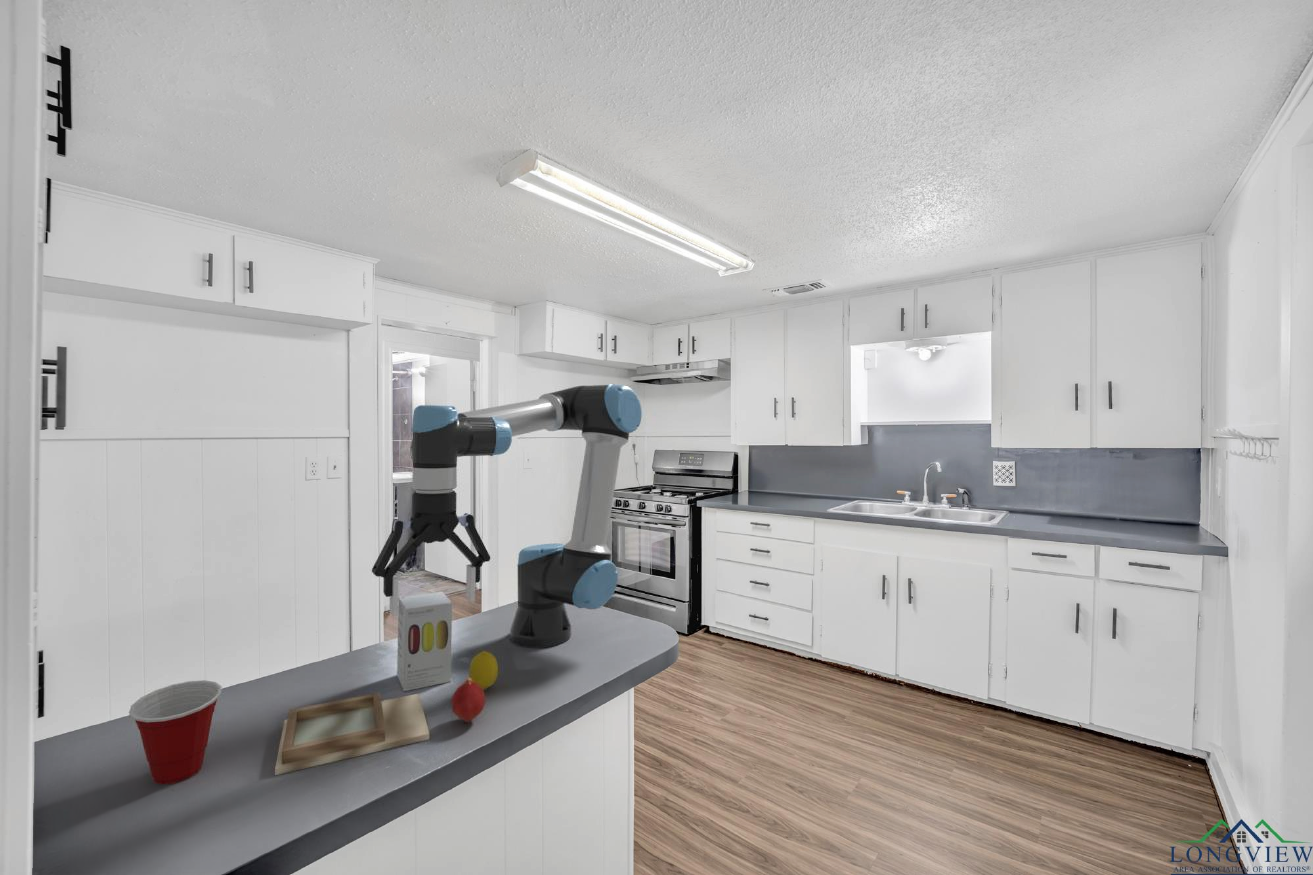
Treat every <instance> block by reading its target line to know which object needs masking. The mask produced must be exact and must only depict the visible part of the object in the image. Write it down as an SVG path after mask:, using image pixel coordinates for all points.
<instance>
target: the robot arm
mask: <svg viewBox="0 0 1313 875" xmlns="http://www.w3.org/2000/svg"><path fill="white" fill-rule="evenodd" d="M642 413H643V411H642V405H641V401H640V398H639V397H638V395H637V394H636V392H635V391H634V390H633V388H631V387H630V386H627V385H624V384H623V385H622V384H614V383H611V384H602V385H601V384H599V385H597V384H596V385H595V384H594V385H578V386H573V387H568V388H564V389H561V390H558V391H554V392H548V393H544V394H542V395H540V396H539V397H538V398H537V399H533V400H526V401H522V402H521V401H520V402H515V403H510V404H509V403H508V404H503V405H497V406H493V407H492V406H491V407H487V408H481V409H476V410H475V409H474V410H470V411H464V412H459V413H458V409H457V407H456V406H454V405H453V406H452V405H438V404H437V405H436V404H435V405H430V404H428V405H427V404H426V405H422V404H421V405H418V406H416V407H415V408H414V410H413V415H412V424H411V425H412V427H411V432H412V433H411V434H412V438H411V440H412V444H411V445H412V480H411V481H412V482H411V483H412V484H411V486H412V489H413V490H414V492H413V493H412V494H411V518H410V520H401V519H397V518H395V519H393V520H392V522H391V523H392V525H391V531H390V534H389V536H387V537H388V538H387V539H386V541H385V543H384V545H383V547H382V549H381V551H380V553H379V555H378V556H377V559H376V560H375V562H374V564H373V566H372V568H371V573H372V574H373V575H374V576H375V577H376V578H379V577H380V578H382V579H383V587H382V588H383V592H382V593H383V594H384V596H385V597H387V598H388V597H389V613H390V614H391V615H392V616H393V617H396V616H397V617H398V602H399V578H398V576H396V574H397V572H399V570H400V569H401V567H402V566H404V564H405V563H406V561H407V560H408V559H409V558H410V556H411V555H412V554H413V553H414V552H415V551H416V549H417V548H418V547H420V546H421V545H422V544H423V543H426V544H432V543H435V542H439V543H443V542H446V541H447V540H449V541H450V542H451V544H453V545H454V547H456V549H458V551H460V553H461V554H462V555H463V556H464V557H465V558H466V559H467V560H468V561H469V562H470V564H466V570H465V571H466V575H465V576H466V577H465V578H466V581H465V582H466V585H465V586H466V587H465V590H466V592H465V593H466V594H465V599H466V600H468V601H469V602H470V603H475V602H476V583H480V581H481V567H483V565H484V563H486V562H490V561H491V555H490V554H489V552H488V550H487V548H486V546H485V543H484V542H483V540H482V537H481V536H480V534H479V532H478V530H477V528H476V525H475V517H474V516H473V515H472V514H470V513H467V512H465V513H464V514H463V515H457V492H456V491H455V490H454V489H456V488H457V487H458V486H457V485H458V484H457V483H458V481H457V476H458V475H457V473H458V472H457V471H458V469H457V467H458V463H457V462H458V457H460V458H461V457H482V456H485V457H486V456H490V457H493V456H497V455H498V456H499V455H503V454H505V453H506V452H507V451H509V449H510V447H511V445H512V441H513V439H512V437H516V436H521V435H525V434H530V433H533V432H538V431H542V430H545V431H548V432H555V431H559V430H560V431H561V430H562V431H563V430H566V431H568V430H569V431H570V430H571V431H581V437H582V438H583V439H584V440H585V442H586V444H585V450H584V456H583V462H582V468H581V474H580V481H579V488H578V493H577V499H576V500H577V501H576V507H575V511H574V520H573V525H572V529H571V530H572V531H571V537H570V540H569V541H568V542H567V543H565V544H564V543H559V542H558V543H556V542H555V543H543V544H536V545H530V546H527V547H523V548H521V550H520V551H519V553H518V558H517V559H518V561H517V563H516V564H517V608H516V611H515V615H514V618H513V620H512V623H511V627H510V629H509V630H510V631H509V639H510V641H511V642H512V643H513V644H514V645H517V646H520V647H524V648H525V647H526V648H547V647H552V646H557V645H559V644H563V643H565V642H567V641H568V640H569V639H570V638H571V636H572V625H571V621H570V618H569V614H568V612H567V609H566V606H565V605H566V604H567V605H571V606H575V607H576V608H578V609H585V610H586V609H587V610H597V609H600V608H602V607H603V606H605V605H606V604H607V602H608V601H610V599H611V598H612V596H613V594H614V593H615V590H616V588H617V585H618V579H619V573H618V570H617V569H618V568H617V566H616V565H615V563H613V562H612V561H611V558H612V551H611V550H610V548H609V547H608V545H607V541H608V535H609V528H610V521H611V515H612V508H613V503H614V494H615V489H616V482H617V476H618V469H619V462H620V456H621V449H622V447H623V446H624V445H626V444H627V443H628V442H629V437H630V434H631V433H633V432H635V431H637V429H638V427H639V426H640V425H641V422H642ZM459 523H460V526H462V527H463V528H464V529H465V531H466V534H467V535H468V537H469V540H470V541H471V543H472V545H473V547H474V549H475V551H476V553H477V555H478V556H477V555H476V554H475V552H473V551H472V550H471V549H470V548H469V547H468V546H467V545H466V543H465V542H464V541H463V540H462V539H461V537H460V536H459V535H458V534H457V533H456V532H455V531H454V530H455V529H456V528H457V526H458V525H459ZM408 528H410V529H411V531H412V534H411V536H410V537H409V538H408V540H407V542H406V543H405V544H404V545H403V546H402V548H401V549H400V551H398V553H397V554H396V555H395V556H394V557H393V559H392V560H391V557H392V556H393V553H395V552H394V551H395V550H396V548H397V547H398V544H399V542H400V540H401V538H402V536H403V534H404V533H406V531H407V530H408ZM390 560H391V561H390ZM389 561H390V562H389ZM388 563H389V564H388Z"/></svg>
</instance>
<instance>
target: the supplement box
mask: <svg viewBox="0 0 1313 875" xmlns="http://www.w3.org/2000/svg"><path fill="white" fill-rule="evenodd" d="M452 627H453V602H452V600H450V598H449V597H448V596H447V595H446V594H445V593H444V592H443V591H438V592H430V593H422V594H415V595H414V594H413V595H407V596H398V616H397V653H396V654H397V656H396V658H397V659H396V660H397V662H396V663H397V664H396V665H397V666H396V668H397V669H396V676H397V678H398V681H399V683H400V685H401V687H402V688H401V689H402V691H403V692H407V691H413V690H417V689H418V690H419V689H421V688H426V687H431V686H436V685H441V684H445V683H450V682H451V680H452V674H451V673H452V636H453V635H452V634H453V628H452Z"/></svg>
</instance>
